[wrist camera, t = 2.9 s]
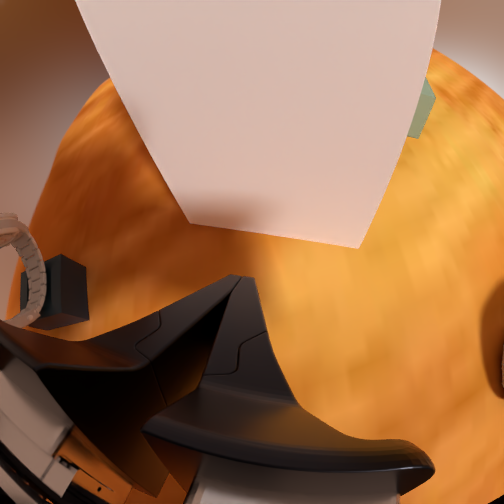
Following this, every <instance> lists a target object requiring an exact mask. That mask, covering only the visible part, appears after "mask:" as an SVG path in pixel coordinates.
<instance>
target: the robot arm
mask: <svg viewBox="0 0 504 504" xmlns="http://www.w3.org/2000/svg"><path fill="white" fill-rule="evenodd" d="M169 472H170V473H171V475H172V476H173V477H174V478H175V479H176V481H177V482H178V483H179V484H180V485H181V486H182V488H183V489H184V490H185V491H186V492H187V495H186V498H185V500H184V503H183V504H400V496H402V495H404V494H406V493H407V492H409V491H411V490H413V489H414V488H416V487H418V486H419V485H421V484H423V483H424V482H426V481H427V480H428V479H430V478H431V477H432V476H433V475H434V473H435V467H434V464H433V463H432V461H431V459H430V458H429V456H428V455H427V454H426V453H425V452H424V451H422V450H421V449H420V448H418V447H417V446H415V445H414V444H413V443H411V442H409V441H406V440H400V439H386V440H364V439H358V438H354V437H350V436H347V435H345V434H343V433H341V432H339V431H337V430H336V429H334V428H332V427H331V426H329V425H327V424H326V423H324V422H323V421H321V420H320V419H318V418H316V417H315V416H313V415H312V414H310V413H309V412H307V411H306V410H304V409H303V408H302V407H301V406H300V405H299V403H298V402H297V400H296V399H295V397H294V395H293V393H292V391H291V389H290V387H289V385H288V383H287V381H286V379H285V377H284V374H283V372H282V370H281V368H280V366H279V364H278V362H277V359H276V357H275V354H274V352H273V349H272V346H271V342H270V339H269V335H268V331H267V327H266V323H265V319H264V315H263V311H262V307H261V303H260V298H259V294H258V290H257V286H256V282H255V279H254V278H253V277H246V276H243V277H241V276H238V275H228V276H226V277H224V278H222V279H220V280H218V281H217V282H215V283H213V284H211V285H209V286H207V287H205V288H203V289H201V290H199V291H197V292H195V293H193V294H191V295H189V296H187V297H185V298H183V299H181V300H179V301H177V302H175V303H173V304H170V305H168V306H166V307H164V308H162V309H160V310H159V312H158V311H156V312H154V313H152V314H150V315H148V316H146V317H144V318H142V319H139V320H137V321H135V322H133V323H130V324H128V325H125V326H123V327H120V328H118V329H115V330H112V331H110V332H107V333H104V334H102V335H99V336H96V337H94V338H91V339H88V340H84V341H66V340H62V339H58V338H54V337H50V336H46V335H42V334H39V333H35V332H32V331H28V330H25V329H22V328H18V327H16V326H13V325H10V324H8V323H5V322H3V321H2V320H0V504H51V503H49V502H48V501H46V498H47V499H49V500H50V501H51V502H52V503H53V504H124V503H125V501H126V499H127V497H128V495H129V493H130V491H131V489H132V487H133V488H135V489H137V490H139V491H141V492H144V493H146V494H148V495H151V496H153V497H155V498H157V496H158V494H159V492H160V490H161V488H162V486H163V484H164V482H165V480H166V478H167V476H168V474H169ZM488 504H504V495H502V496H501V497H499V498H497V499H496V500H494V501H492V502H490V503H488Z"/></svg>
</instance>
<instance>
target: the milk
mask: <svg viewBox="0 0 504 504" xmlns="http://www.w3.org/2000/svg"><path fill="white" fill-rule="evenodd" d="M75 1H76V3H77V6H78V8H79V10H80V13H81V15H82V17H83V20H84V22H85V24H86V26H87V29H88V31H89V33H90V35H91V38H92V40H93V42H94V44H95V46H96V48H97V50H98V53H99V55H100V57H101V59H102V61H103V63H104V65H105V67H106V69H107V71H108V73H109V76H110V78H111V80H112V82H113V84H114V86H115V88H116V90H117V92H118V94H119V96H120V98H121V100H122V101H123V103H124V105H125V107H126V109H127V111H128V113H129V115H130V117H131V119H132V121H133V123H134V125H135V127H136V128H137V130H138V132H139V134H140V136H141V138H142V140H143V141H144V143H145V145H146V147H147V149H148V151H149V153H150V154H151V156H152V158H153V160H154V162H155V163H156V165H157V167H158V169H159V171H160V172H161V174H162V176H163V178H164V180H165V181H166V183H167V185H168V187H169V188H170V190H171V192H172V194H173V195H174V197H175V199H176V201H177V202H178V204H179V206H180V208H181V209H182V211H183V213H184V214H185V216H186V218H187V220H188V221H189V223H190V224H198V225H205V226H212V227H220V228H227V229H234V230H241V231H248V232H255V233H262V234H269V235H275V236H282V237H289V238H295V239H302V240H308V241H315V242H321V243H327V244H333V245H340V246H346V247H352V248H358V249H359V247H360V245H361V243H362V241H363V239H364V237H365V235H366V233H367V230H368V228H369V226H370V224H371V222H372V220H373V218H374V215H375V213H376V211H377V209H378V207H379V204H380V202H381V200H382V198H383V195H384V193H385V191H386V188H387V186H388V184H389V181H390V179H391V176H392V174H393V171H394V169H395V166H396V164H397V161H398V159H399V156H400V153H401V151H402V148H403V145H404V143H405V140H406V137H407V134H408V131H409V128H410V126H411V123H412V120H413V117H414V114H415V110H416V107H417V104H418V101H419V97H420V94H421V91H422V87H423V84H424V80H425V76H426V73H427V69H428V65H429V61H430V57H431V52H432V48H433V43H434V39H435V33H436V29H437V23H438V17H439V11H440V4H441V0H75Z"/></svg>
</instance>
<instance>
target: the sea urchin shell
mask: <svg viewBox="0 0 504 504" xmlns="http://www.w3.org/2000/svg"><path fill="white" fill-rule="evenodd" d="M501 370H502V373H503V376H502V378H503V381H502V385H503V387H504V344H503V358H502V369H501Z"/></svg>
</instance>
